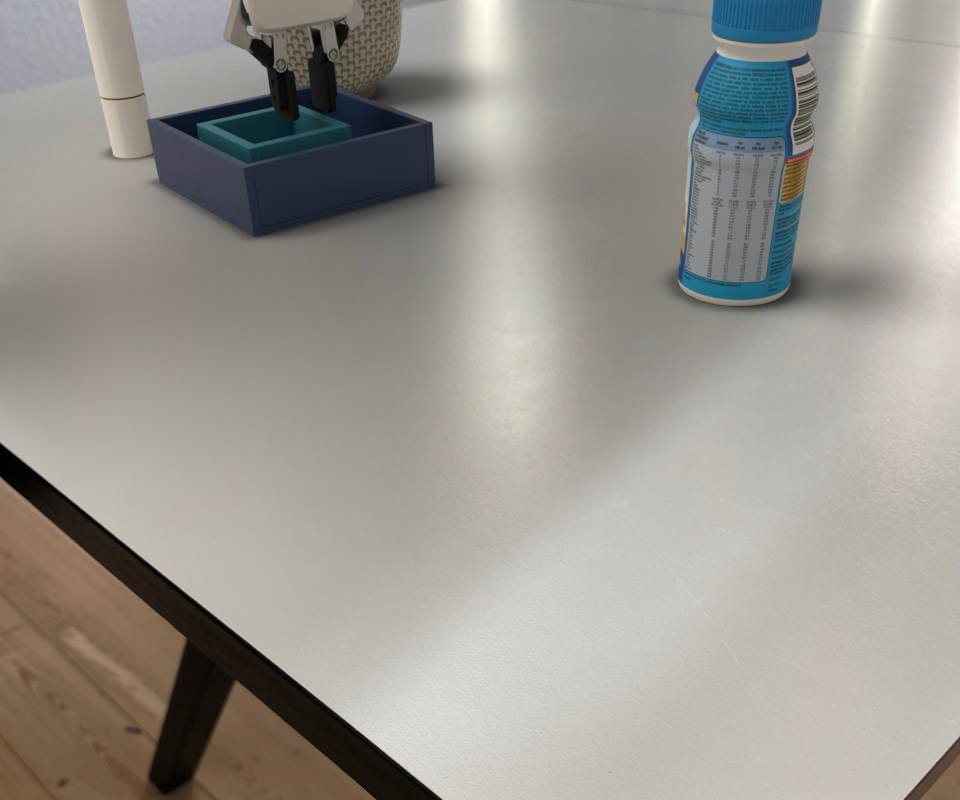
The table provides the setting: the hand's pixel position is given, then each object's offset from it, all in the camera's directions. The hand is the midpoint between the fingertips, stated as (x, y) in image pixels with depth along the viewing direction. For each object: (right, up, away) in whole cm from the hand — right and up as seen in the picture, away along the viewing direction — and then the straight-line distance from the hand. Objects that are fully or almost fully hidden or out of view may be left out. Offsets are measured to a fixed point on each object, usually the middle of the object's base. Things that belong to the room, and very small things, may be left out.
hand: (306, 111), depth 100 cm
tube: (-19, +1, +13) cm, 23 cm away
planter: (-1, +14, +27) cm, 30 cm away
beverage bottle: (+34, -21, -17) cm, 44 cm away
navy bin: (-1, -6, +3) cm, 7 cm away
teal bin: (-3, -6, +2) cm, 6 cm away
